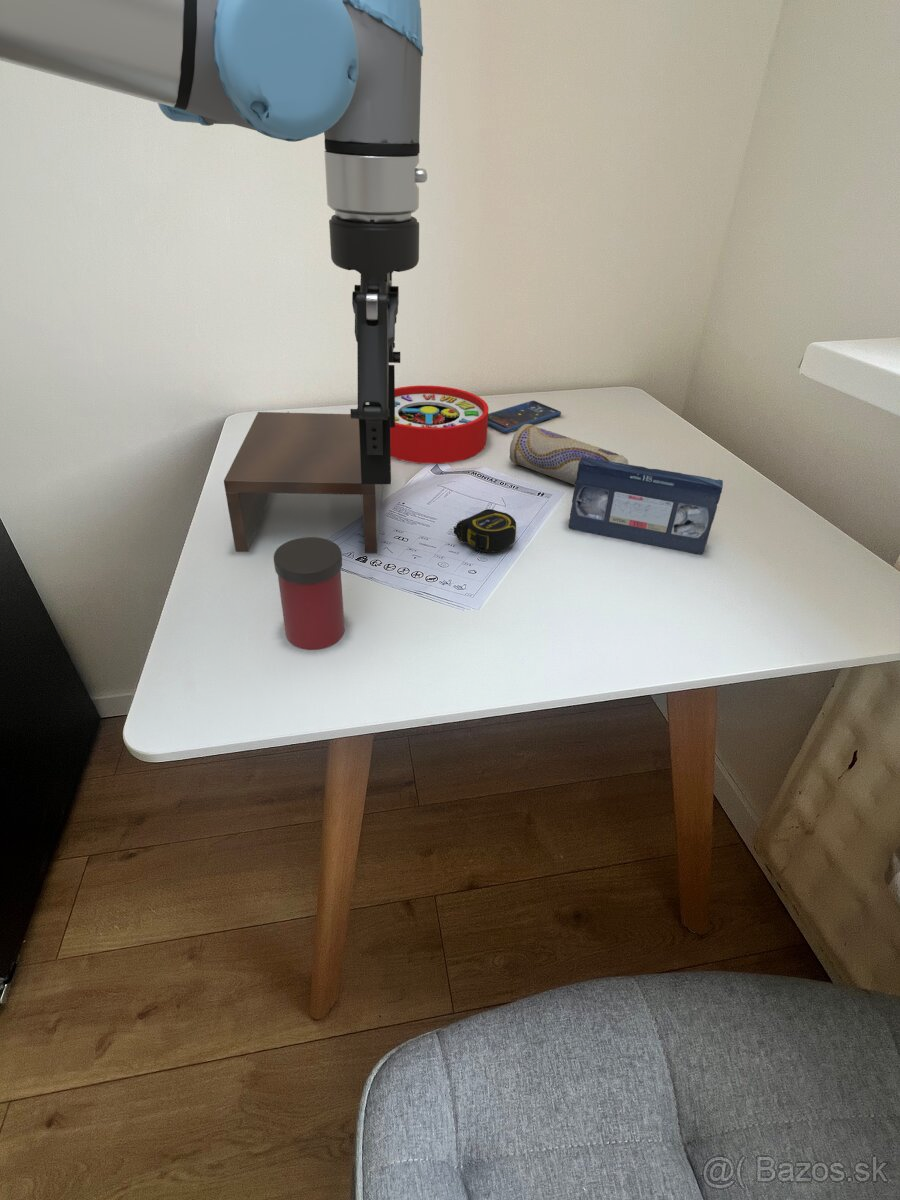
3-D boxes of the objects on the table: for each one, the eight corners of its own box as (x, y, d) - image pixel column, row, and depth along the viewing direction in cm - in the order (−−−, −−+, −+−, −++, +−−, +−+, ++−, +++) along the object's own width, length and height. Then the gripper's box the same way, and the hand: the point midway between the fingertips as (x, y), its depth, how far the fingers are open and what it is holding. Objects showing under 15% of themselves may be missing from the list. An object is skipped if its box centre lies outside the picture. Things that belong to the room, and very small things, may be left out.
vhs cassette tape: (566, 528, 97) (577, 462, 91) (571, 519, 99) (581, 454, 93) (703, 557, 92) (723, 489, 86) (704, 546, 94) (724, 479, 88)
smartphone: (476, 416, 126) (533, 399, 135) (476, 420, 127) (532, 403, 135) (505, 430, 122) (562, 411, 130) (505, 434, 122) (562, 415, 131)
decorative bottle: (503, 469, 111) (507, 430, 107) (529, 455, 116) (534, 417, 112) (652, 524, 99) (663, 481, 95) (674, 506, 104) (685, 464, 100)
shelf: (235, 551, 89) (223, 480, 83) (266, 474, 107) (257, 411, 101) (377, 553, 90) (375, 483, 84) (384, 477, 108) (382, 414, 102)
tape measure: (488, 526, 97) (490, 502, 94) (525, 546, 93) (528, 521, 90) (452, 542, 93) (453, 517, 90) (489, 564, 89) (491, 538, 87)
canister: (278, 651, 74) (268, 572, 68) (288, 612, 79) (279, 536, 73) (343, 651, 74) (338, 573, 68) (348, 612, 79) (344, 537, 74)
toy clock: (484, 387, 125) (493, 430, 109) (482, 418, 128) (490, 465, 112) (372, 383, 124) (364, 427, 108) (373, 415, 128) (365, 462, 111)
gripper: (419, 242, 48) (416, 512, 61) (419, 197, 68) (417, 407, 81) (309, 238, 48) (329, 511, 60) (342, 194, 68) (351, 405, 80)
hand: (379, 452), depth 70 cm, fingers open, 13 cm apart
